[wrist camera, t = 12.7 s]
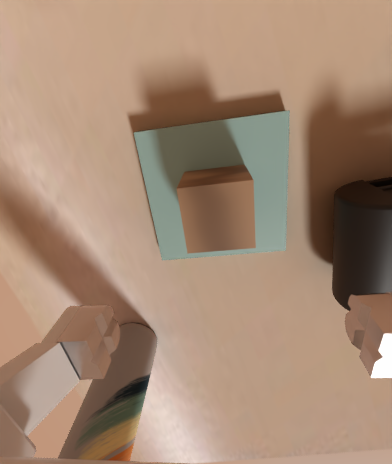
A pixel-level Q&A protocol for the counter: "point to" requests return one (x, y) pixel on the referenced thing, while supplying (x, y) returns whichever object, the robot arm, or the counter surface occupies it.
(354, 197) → the end cap
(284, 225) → the teal board
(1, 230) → the counter surface
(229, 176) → the walnut block
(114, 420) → the lotion bottle
